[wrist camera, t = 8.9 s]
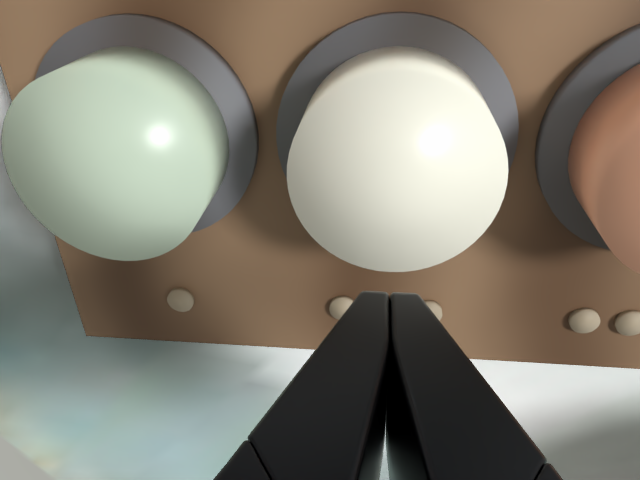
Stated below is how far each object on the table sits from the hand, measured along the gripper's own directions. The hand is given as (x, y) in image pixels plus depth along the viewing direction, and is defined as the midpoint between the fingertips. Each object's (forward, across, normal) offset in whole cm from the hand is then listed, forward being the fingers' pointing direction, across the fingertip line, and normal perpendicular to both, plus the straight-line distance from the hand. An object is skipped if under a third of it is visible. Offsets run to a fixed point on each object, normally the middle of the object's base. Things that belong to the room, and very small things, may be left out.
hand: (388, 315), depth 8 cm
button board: (+10, 0, +2) cm, 10 cm away
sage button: (+7, +7, 0) cm, 10 cm away
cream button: (+7, 0, 0) cm, 7 cm away
